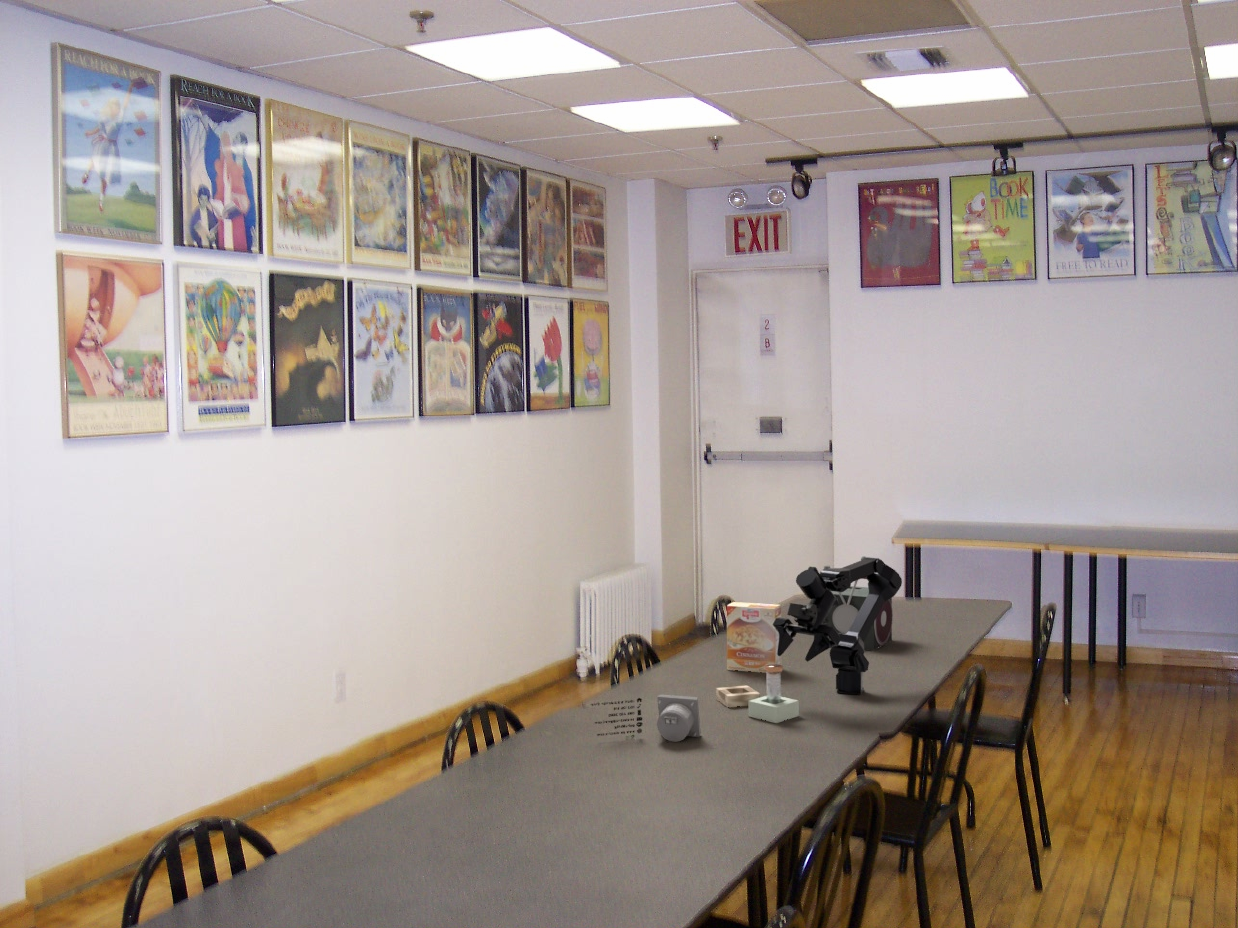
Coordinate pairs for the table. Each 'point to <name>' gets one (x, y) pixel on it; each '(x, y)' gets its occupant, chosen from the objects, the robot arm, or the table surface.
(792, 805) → the table surface
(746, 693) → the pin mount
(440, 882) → the table surface
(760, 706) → the dock socket
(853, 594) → the boombox
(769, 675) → the lock pin
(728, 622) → the coffeecake box
